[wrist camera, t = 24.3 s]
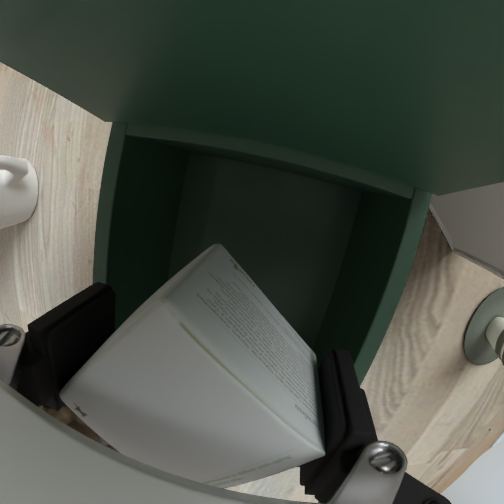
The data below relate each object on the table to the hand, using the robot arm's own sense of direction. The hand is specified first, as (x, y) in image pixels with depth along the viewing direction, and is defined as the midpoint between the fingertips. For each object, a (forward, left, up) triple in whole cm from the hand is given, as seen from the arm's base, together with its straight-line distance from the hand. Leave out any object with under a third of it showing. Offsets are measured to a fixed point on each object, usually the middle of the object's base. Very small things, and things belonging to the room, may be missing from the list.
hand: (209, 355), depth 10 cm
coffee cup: (0, +22, -11) cm, 25 cm away
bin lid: (-9, 0, +7) cm, 11 cm away
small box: (0, 0, -1) cm, 1 cm away
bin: (0, 0, -10) cm, 11 cm away
